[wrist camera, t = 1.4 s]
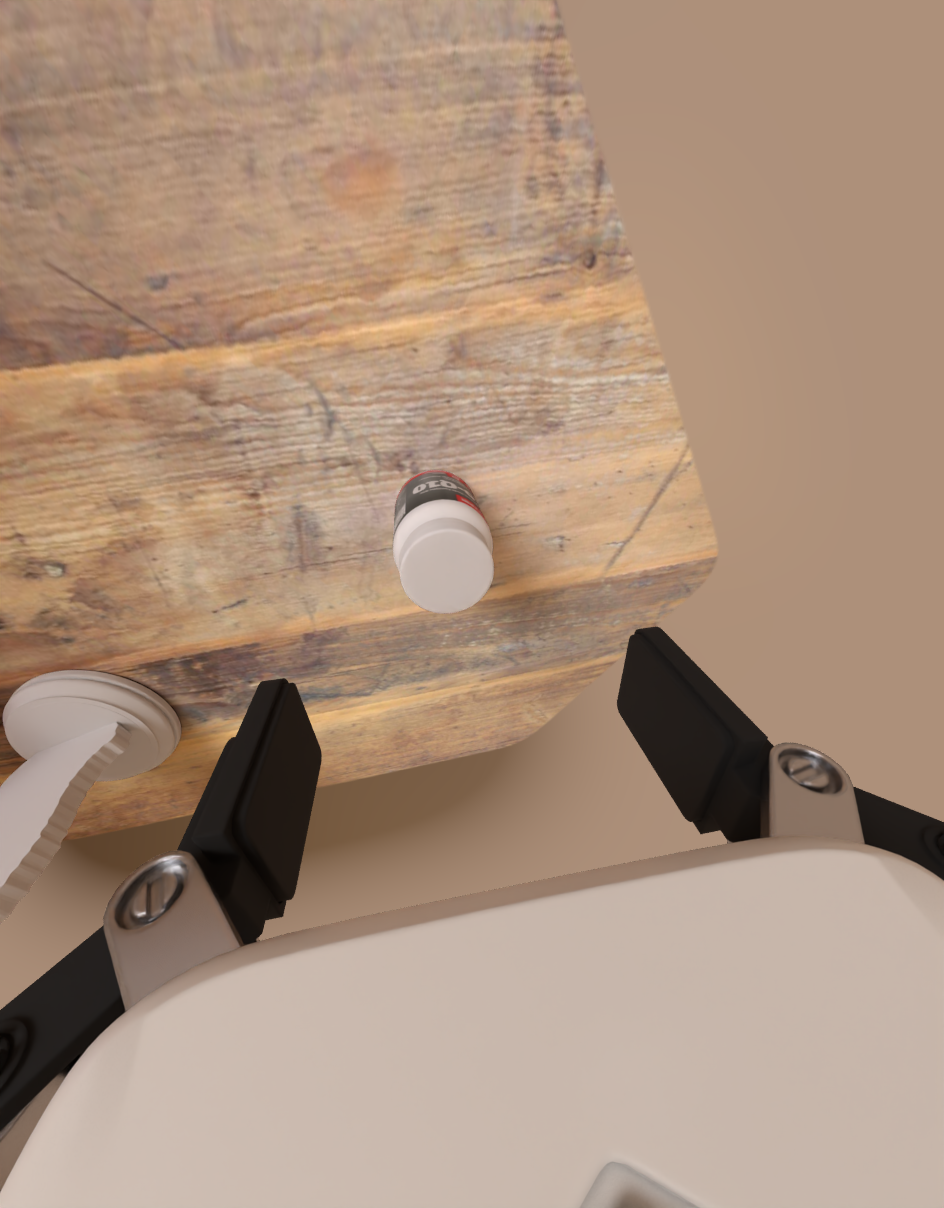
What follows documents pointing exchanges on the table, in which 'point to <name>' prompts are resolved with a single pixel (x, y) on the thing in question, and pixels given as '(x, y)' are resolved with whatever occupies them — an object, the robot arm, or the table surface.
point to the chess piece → (70, 760)
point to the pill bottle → (441, 543)
